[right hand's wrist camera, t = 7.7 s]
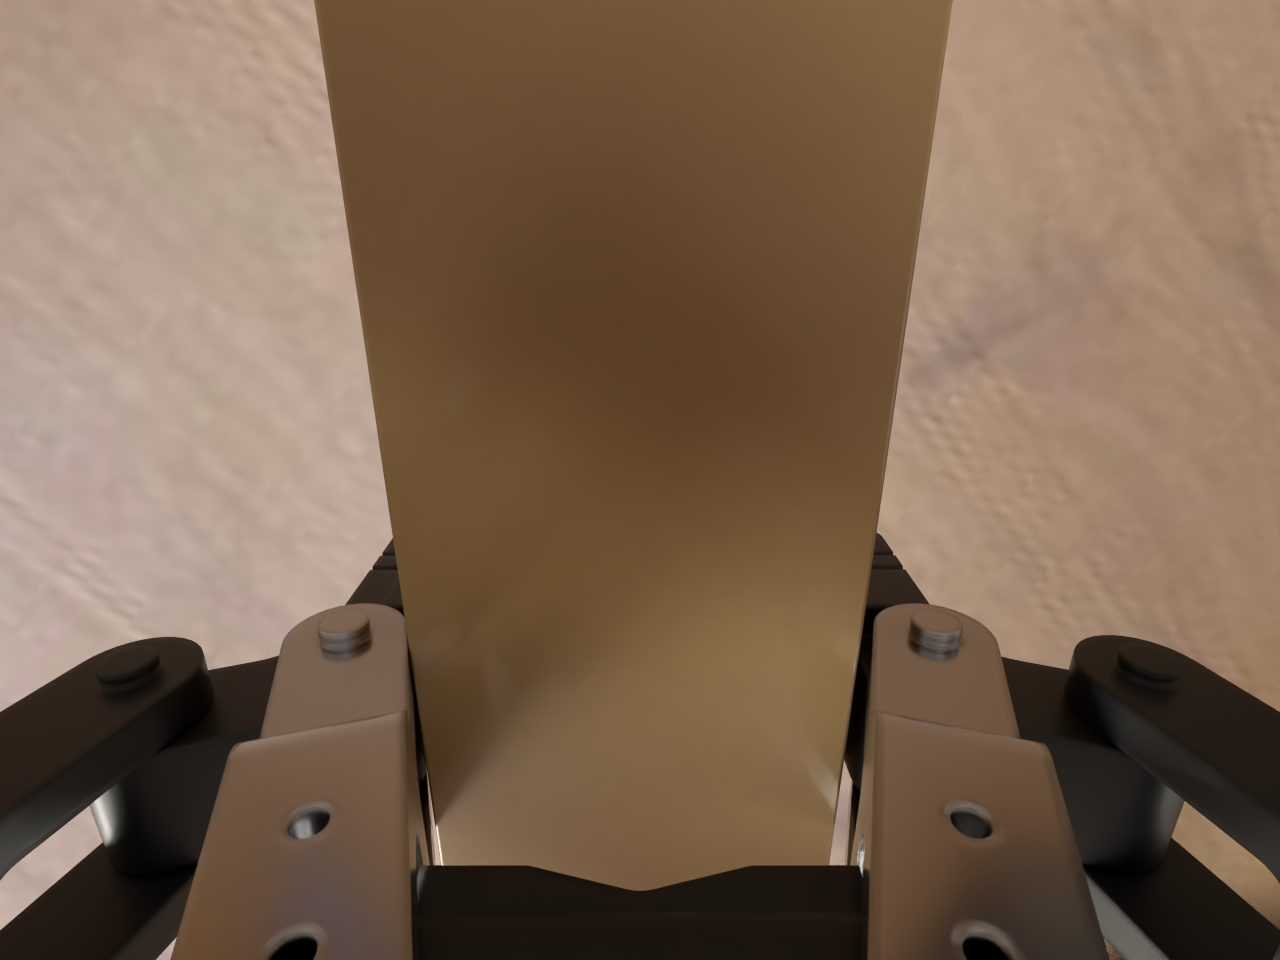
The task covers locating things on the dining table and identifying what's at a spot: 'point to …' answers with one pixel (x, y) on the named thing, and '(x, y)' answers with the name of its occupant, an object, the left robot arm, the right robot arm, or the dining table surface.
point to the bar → (634, 400)
